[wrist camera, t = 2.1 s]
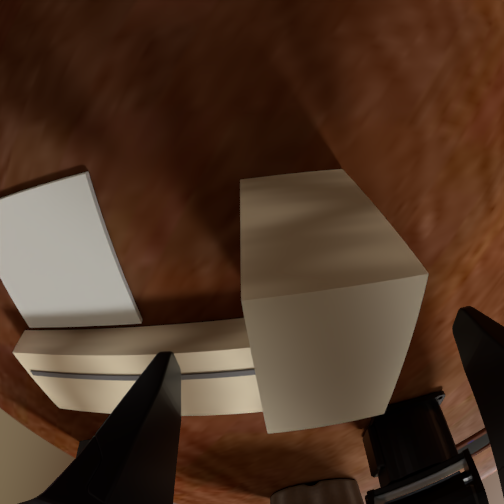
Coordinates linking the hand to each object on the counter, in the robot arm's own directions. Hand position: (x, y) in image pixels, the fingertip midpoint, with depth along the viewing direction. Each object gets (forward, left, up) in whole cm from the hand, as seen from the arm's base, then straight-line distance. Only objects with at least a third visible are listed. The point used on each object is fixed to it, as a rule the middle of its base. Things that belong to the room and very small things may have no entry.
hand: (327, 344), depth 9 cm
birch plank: (+6, +7, -6) cm, 11 cm away
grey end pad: (+12, -1, -6) cm, 13 cm away
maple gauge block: (0, 0, -6) cm, 6 cm away
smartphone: (-28, +41, -6) cm, 50 cm away
